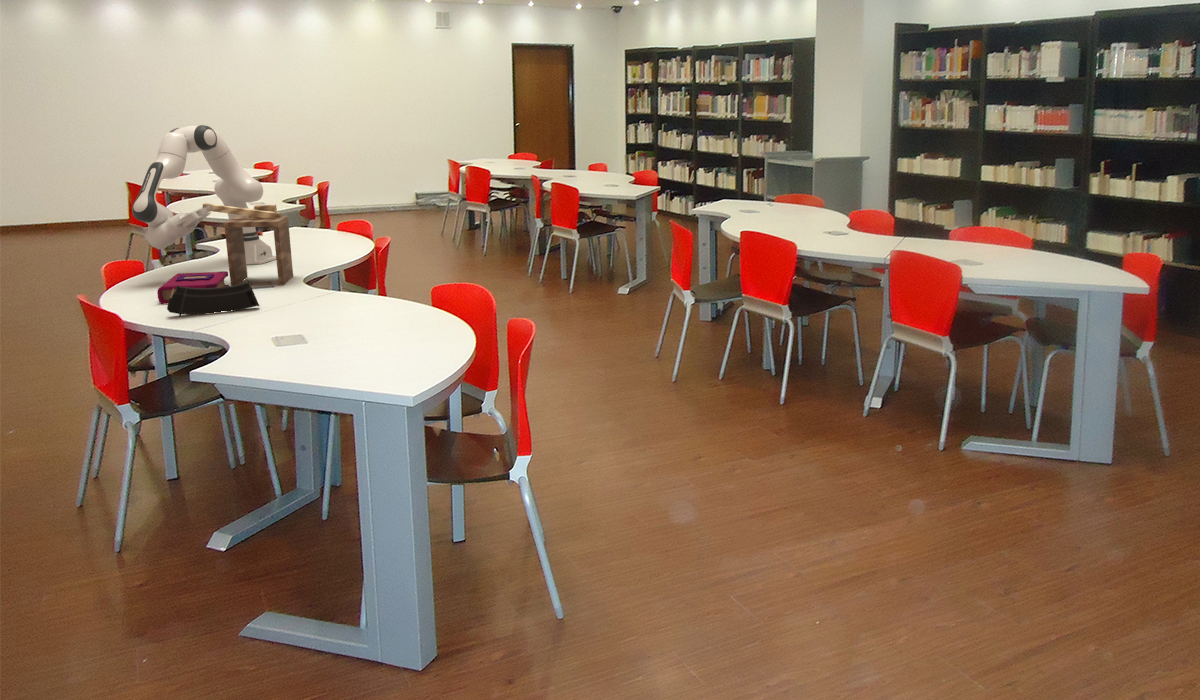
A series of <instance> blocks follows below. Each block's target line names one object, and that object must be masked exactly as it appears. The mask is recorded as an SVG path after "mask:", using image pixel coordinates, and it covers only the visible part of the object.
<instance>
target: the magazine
mask: <svg viewBox="0 0 1200 700" xmlns="http://www.w3.org/2000/svg"><path fill="white" fill-rule="evenodd" d="M253 307H254V308H255V307H260V304H259V301H258V299H257V297H256V295H255V292H254V290H253V288H252V285H251V283H250V281H249V280H247V281H245V282H241V283H240V284H238V285H233V286H231V285H229V286H225V287H217V288H188V287H179V285H177V286H176V289H175V291H174V288H173V290H172V293H171V296H170V297H169V301H168V304H167V307H166V310H167V311H168V312H169V313H173V314H178V316H180V317H181V316H182V315H186V316H187V315H191V316H192V315H193V314H199V315H206V314H205V313H214V312H221V311H231V310H233V311H232V312H235V311H234V310H238V311H241V310H246V309H249V308H253ZM193 316H194V315H193Z"/></svg>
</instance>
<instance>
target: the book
mask: <svg viewBox="0 0 1200 700" xmlns="http://www.w3.org/2000/svg"><path fill="white" fill-rule="evenodd" d="M228 277H229V271H228V270H227V271H226V270H225V271H208V272H185V273H184V272H183V273H182V272H180V273H176V274H174V275H173V276H172V277H171V278H170V279H168V280H167V281H166V282H165V283H163V285H161V286H159V288H157V292H156V293H157V298H158V302H159V303H160V304H161V305H164V304H163V303H168V301H169V297H170V296H171V293H172V290H173V288H174V291H175V289H176V286H177V285H179V287H188V288H217V287H225V286H230V284H226V283H225V279H226V278H228Z"/></svg>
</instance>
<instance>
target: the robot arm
mask: <svg viewBox="0 0 1200 700" xmlns="http://www.w3.org/2000/svg"><path fill="white" fill-rule="evenodd" d="M197 152H201V154H202V155H203V157H204V159H205V160H206V162H207V164H208V165H209V167H210V169H211V170H212V172H213V173H214V175H215V176H217V177H218V180H216V182H215V183H214V193H215V195H216V197H217V198H219V199H220V201H221V202H222V204H223V206H231V207H239V208H247V209H250V208H249V207H248V204H249V203H250V204H251V203H254V202H258V201H260V200H261V199H262V197H263V194H264V188H263V185H262V183H261V182H260V181H258V179H255V178H253V176H251V175H250V173H248V172H247V171H246V170H245V169H244V168H243V167H242V166H241V165H240V163H239V162H238V161H237V159H236V157H235V156H234V154H233V152H232V151H231V149H230V147H229V146H228V144H227V143H226V141H225V140H224V138H223V137H222V136H221V134H219V132H218V131H217V130H215V129H213V128H212V127H210V126H208V125H205V124H200V125H187V126H182V127H176V128H173V129H171V130H170V131H169V132H167V133H165V134H164V135H163V138H162V139H161V142H160V145H159V148H158V150H157V156H156V158H155V161H154V162H153V163H151V164H150V165H149V167H148V169H147V170H146V174H145V176H144V179H143V182H142V185H141V188H140V190H139V193H138V195H137V197H136V198H135V200H134V202H133V203H132V206H131V212H132V216H133V218H135V219H136V220H138V221H140V222H143V223H145V224H147V225H148V226H147V227H148V228H147V233H146V235H144V239H145V241H146V242H147V243H148V245H149V246H151V247H152V248H154V249H156V250H162V249H166V248H168V247H169V246H172V244H175V243H176V242H177V241H178V240H179V239H181V238H184V237H186V236H187V235H189V234H191V233H192V232H193V231H195V228H196V227H198V224H199V223H201V222H202V221H203V220H205V219H206V218H207V217H208V216H210V215H211V213H212V211H209V210H210V209H212V208H211V206H210V205H208V206H206V207H204V208H203V206H202V207H199V208H197V209H195V210H193V211H189V212H181V211H180V212H178V213H177V214H175V215H174V212H173V211H172V210H171V209H170V208H168V207H167V206H164V205H163V204H161V203H159V202H158V201H157V199H156V196H157V193H158V190H159V188H160V184H161V182H162V181H163V180H165V179H166V180H171V179H176V178H179V177H180V176H182V174H183V173H184V170H185V168H186V164H187V163H186V162H187V156H188V155H187V154H189V153H190V154H191V153H197ZM247 203H248V204H247ZM226 214H227V216H228V220H230V219H232V218H235V217H241V216H245V215H237V214H229V213H226ZM242 228H243V237H244V247H245V257H246V266H247V265H262V264H267V263H268V262H272V261H274V260H276V255H273V251H272V248H271V246H270V245H269V244H267V243H266V242H264V241H263V240H262V239H260V237H262V236H263V235H264V232H263V231H257V230H256V228H257V227H242Z"/></svg>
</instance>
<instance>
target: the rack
mask: <svg viewBox="0 0 1200 700" xmlns="http://www.w3.org/2000/svg"><path fill="white" fill-rule="evenodd" d="M253 209H254V210H262V211H270V212H275V219H268V218H260V217H253V216H241V217H235V218H232V219H230V220H229V219H228V220H227V221H225V222H223V225H224V226H223V227H224V233H225V236H224V237H225V244H226V252H227V253H226V254H227V262H228V270H229V271H228V274H229V279H230V280H229V281H230V286H233V285H238V284H239V283H240V282H241V283H243V282H244V281H245V280H246V279H248V277H249V276H248V268H247V265H246V257H245V247H244V237H243V228H242V227H255V228H271V227H272V228H273V237H274V238H273V239H274V248H275V249H274V250H275V256H276V259H275V260H276V269H277V270H276V271H277V280H278V282H277V283H278V285H279V286H284V285H286V284H287V283H288V282H289V281H290V280H291V279H293V278H294V270H293V259H292V249H291V236H290V235H291V234H290V226H289V215H282V212H281V211H278V208H277V204H256V205H254V206H253ZM244 279H245V280H244ZM243 280H244V281H243ZM241 283H240V284H241Z"/></svg>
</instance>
